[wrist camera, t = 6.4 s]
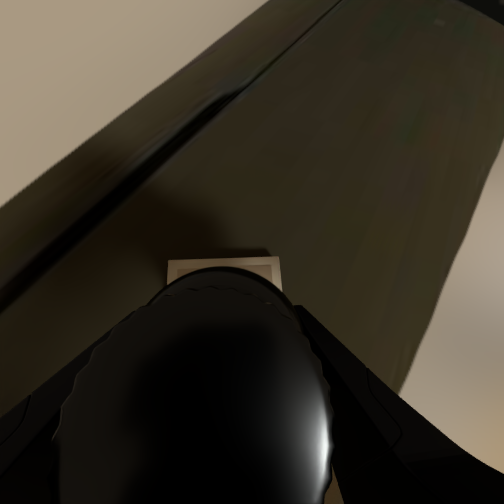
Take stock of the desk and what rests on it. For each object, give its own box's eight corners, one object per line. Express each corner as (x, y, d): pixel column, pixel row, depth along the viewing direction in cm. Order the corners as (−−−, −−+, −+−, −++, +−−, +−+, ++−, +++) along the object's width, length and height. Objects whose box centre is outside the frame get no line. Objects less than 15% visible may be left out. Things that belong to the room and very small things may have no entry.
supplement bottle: (219, 265, 16) (188, 175, 4) (283, 312, 15) (447, 360, 4) (164, 335, 14) (-182, 535, 2) (235, 391, 13) (260, 970, 2)
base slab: (284, 367, 19) (290, 376, 17) (169, 380, 18) (161, 391, 16) (274, 259, 22) (279, 256, 20) (174, 263, 21) (167, 259, 19)
